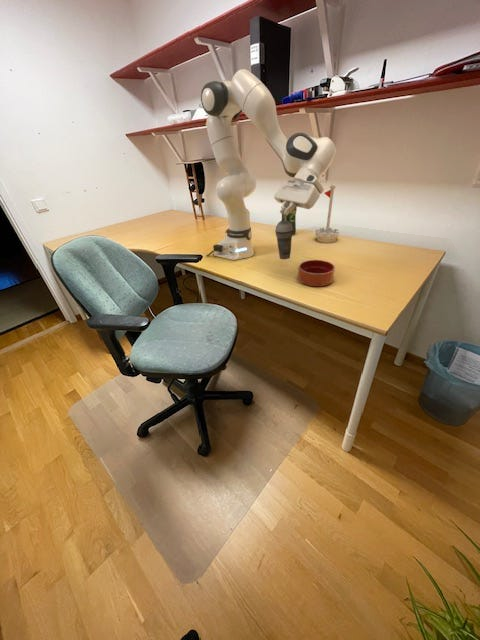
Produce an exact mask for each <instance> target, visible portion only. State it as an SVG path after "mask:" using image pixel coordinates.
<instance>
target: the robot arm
mask: <svg viewBox="0 0 480 640" xmlns="http://www.w3.org/2000/svg"><path fill="white" fill-rule="evenodd" d="M200 102H201V107H202V109H203V111H204V112H205V114H207V115H208V117H207V118H206V123H205V125H206V131H207V135H208V139H209V143H210V146H211V149H212V153H213V156H214V159H215V161H216V165H217V166H218V167H219V168H220V169H221V170H222V171H223V172H224V173H225V175H226V176H224V177H223V178H221V179H220V180H219V181H217V183H216V186H215V192H216V196H217V197H218V199H219V200H220V201H221V202H222V203H223V205H224V207H225V210H226V212H227V218H228V228H227V229H226V230H225V234H226V236H224V237H223V238H222V239H221V240H220V241H219V242H218V244H217V243H216V244H214V245H212V247H213V250H212V251H210V252H209V253H207V254H206V257H209V256H210V255H212V254H213V253H214V254H213V255H214V257H218V258H223V259H227V260H232V261H237V260H240V259H247V258H250V257H253V256H254V254H255V251H254V248H253V243H252V227H251V216H250V215H251V214H250V211H249V209H247V207H246V204H245V201H244V199H245V198H247V197H249V196H251V195H252V194H253V193H254V191H255V190H256V187H257V180H256V178H255V176H254V175H253V174H252V173H250V171H249V170H248V168H247V167H246V165H245V162H244V161H243V159H242V157H241V155H240V151H239V148H238V145H237V142H236V139H235V135H234V132H233V128H232V120H233V121H237V119H238V118H239V117H240V115H241V114H242V113H243V114H244V115H245V116H246V117H247V119H249V121H250V122H251V124H253V125H254V126H255V128H256V129H257V130H258V131H259V133H260V134H261V135H262V136H263V138H264V139H265V140H266V142H267V143H268V145H269V146H270V147H271V148H272V150H273V151H274V153H275V154H276V156H277V157H278V158H279V160H280V161H281V163H282V166H283V171H284V172H285V174H286V175H287V176H288V177H290V178H292V179H291V180H290V179H289V180H288V181H286V182H284V183H282V185H280V186H279V188H278V189H277V190H276V192H275V193H274V196H273V198H274V200H275V201H276V202H277V203H279V204H282V205H281V207H282V208H281V207H280V210H279V213H280V214H281V215H282V214H284V215H288V214H289V212H291V211H292V210H293V209H295V207H297V208H300V209H305V210H311V209H312V208H313V207H314V206H315V204H316V203H317V202H318V200H319V198H320V196H321V194H323V193H324V191H325V188H324V186H323V185H322V183H321V181H320V180H321V178H322V176H323V175H324V174H325V173H326V172H327V170H328V169H329V168H330V166H331V165H332V163H333V161H334V159H335V156H336V154H337V148H336V145H335V143H334V141H333V140H332V139H331V138H330V137H327V136H322V137H314V136H310V135H308V134H307V133H305V132H295V133H294V134H292V135H291V136H289V138H288V139H287V137H286V136H285V134H284V133H283V131H282V130H281V127H280V124H279V120H278V113H277V107H276V101H275V98H274V97H273V95H272V93H271V92H270V90H269V89H268V88H267V86H266V85H265V84H264V83H263V82H262V80H260V79H259V78H258V77H257V76H256V75H254V74H253V73H252V72H251V71H249V70H248V69H245V68H242V69H239V70H237V71H236V72H235V73H234V75H233V76H232V78H231V80H218V81H217V80H212V81H209V82H207V83H205V84H204V86H202V89H201V92H200ZM289 205H290V206H289ZM288 206H289V207H288ZM286 207H288V208H287V209H286Z"/></svg>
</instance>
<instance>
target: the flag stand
mask: <svg viewBox="0 0 480 640" xmlns="http://www.w3.org/2000/svg"><path fill="white" fill-rule="evenodd" d="M336 187H337V185H336V183H331V184H330V185H329V188H330V189H329V190H327V191H325V192H323V194H324V195H326V196H327V197H328V198H329V202H328V212H327V218H326V219H327V220H326V227H320V228H319V229H318V228H316V230H315V236H316V241H317V242H319V243H324V244H325V243H326V244H329V243H334V242H336V241H337V237H338V236H339V235H340V230H339V229H338V228H334V229H333V227H330V223H331V215H332V209H333V200H334V193H335V189H336Z"/></svg>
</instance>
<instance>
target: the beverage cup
mask: <svg viewBox="0 0 480 640" xmlns="http://www.w3.org/2000/svg"><path fill="white" fill-rule="evenodd" d="M274 232H275V236H276V243H277V250H278V256H279V259H280V260H289V259H291V253H292V237H293V235H292V233H293V227H292V224H291V223H290V222H289V221H287V220H286V215H285V220H282V219H281V220H280V221H279V222H278V223H277V224H276V226H275V230H274Z"/></svg>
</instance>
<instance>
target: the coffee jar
mask: <svg viewBox="0 0 480 640" xmlns="http://www.w3.org/2000/svg"><path fill="white" fill-rule="evenodd" d="M289 206H290V205H289ZM289 206H288V207H289ZM288 207H286V209H287V208H288ZM281 208H282V206H280V209H281ZM297 209H298V207H295V209H293V210H292V211H291V212H289V214H288V215H286V220H287V221H289V222H290V223H291V224H292V227H293V233H292V236H293V235H295V234H296V233H297V232H296V231H297V227H296V224H297V223H296V217H297ZM282 220H285V215H284V214H281V221H282Z"/></svg>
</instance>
